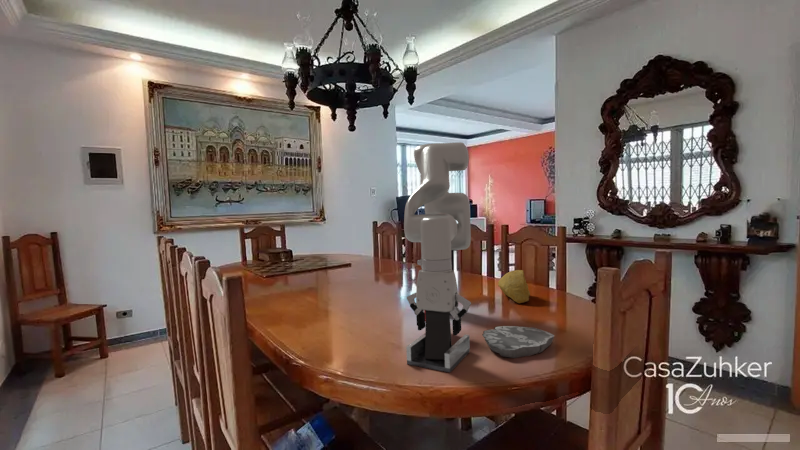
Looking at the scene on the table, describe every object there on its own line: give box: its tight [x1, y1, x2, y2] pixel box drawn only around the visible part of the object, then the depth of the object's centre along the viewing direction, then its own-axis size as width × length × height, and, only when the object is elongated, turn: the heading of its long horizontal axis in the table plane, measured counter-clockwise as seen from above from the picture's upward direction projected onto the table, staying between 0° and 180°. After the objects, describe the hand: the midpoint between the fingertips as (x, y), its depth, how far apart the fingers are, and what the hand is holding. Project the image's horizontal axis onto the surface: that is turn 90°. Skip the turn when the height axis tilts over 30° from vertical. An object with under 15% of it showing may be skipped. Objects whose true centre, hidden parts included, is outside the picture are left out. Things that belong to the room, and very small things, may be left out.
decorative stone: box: [497, 269, 531, 304], centre depth 155 cm, size 13×15×15 cm
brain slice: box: [482, 325, 555, 359], centre depth 107 cm, size 20×17×3 cm
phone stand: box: [424, 310, 453, 360], centre depth 101 cm, size 9×6×12 cm, turn 168°
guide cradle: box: [406, 333, 471, 374], centre depth 101 cm, size 11×14×4 cm
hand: (438, 331), depth 101 cm, fingers open, 9 cm apart
